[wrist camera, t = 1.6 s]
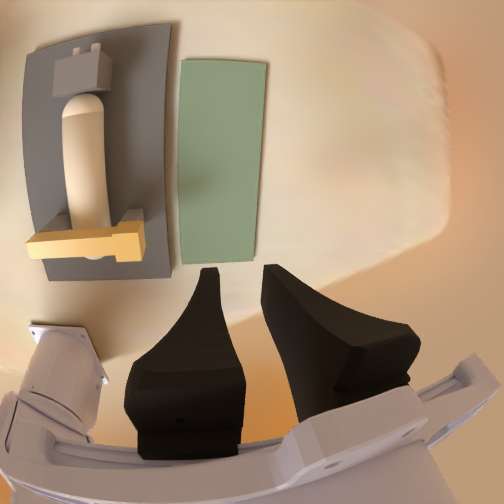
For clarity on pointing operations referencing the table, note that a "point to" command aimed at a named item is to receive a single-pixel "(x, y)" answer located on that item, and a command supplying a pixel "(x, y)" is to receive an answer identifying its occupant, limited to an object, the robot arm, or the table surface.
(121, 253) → the yellow bar
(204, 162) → the felt pad
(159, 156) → the mat
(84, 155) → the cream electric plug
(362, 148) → the table surface
